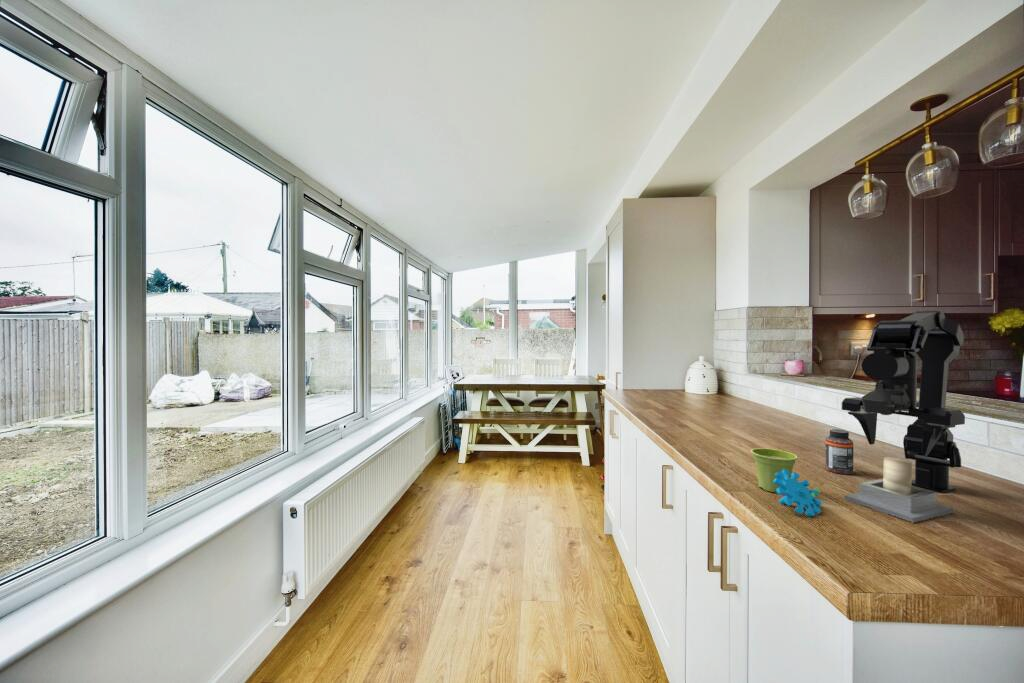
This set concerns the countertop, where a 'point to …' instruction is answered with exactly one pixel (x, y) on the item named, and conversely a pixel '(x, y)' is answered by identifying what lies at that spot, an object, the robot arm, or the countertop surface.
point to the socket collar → (898, 497)
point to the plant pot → (771, 466)
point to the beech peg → (897, 475)
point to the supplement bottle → (839, 452)
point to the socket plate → (912, 517)
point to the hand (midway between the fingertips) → (896, 449)
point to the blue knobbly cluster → (797, 493)
